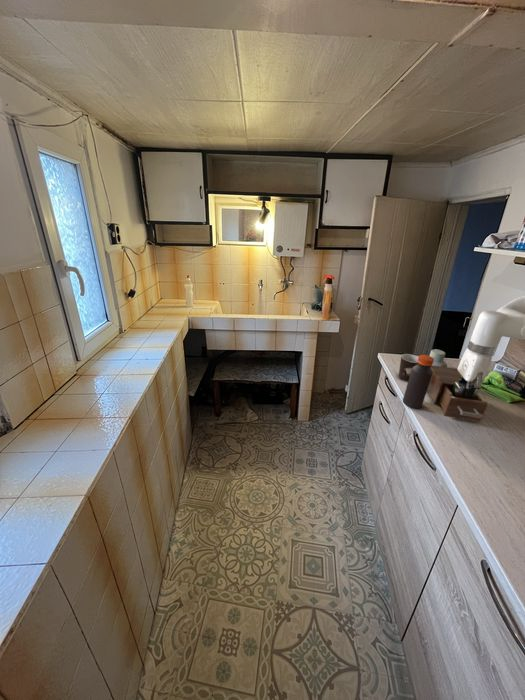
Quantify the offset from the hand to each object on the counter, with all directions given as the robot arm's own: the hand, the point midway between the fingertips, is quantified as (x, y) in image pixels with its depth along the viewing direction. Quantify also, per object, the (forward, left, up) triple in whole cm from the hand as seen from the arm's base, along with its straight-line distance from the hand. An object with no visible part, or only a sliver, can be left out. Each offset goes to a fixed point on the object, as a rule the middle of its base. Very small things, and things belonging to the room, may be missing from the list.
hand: (463, 393), depth 101 cm
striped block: (0, 0, 0) cm, 0 cm away
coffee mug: (+12, -21, -8) cm, 26 cm away
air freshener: (-1, -34, -8) cm, 35 cm away
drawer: (0, +1, -7) cm, 7 cm away
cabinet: (0, -11, -8) cm, 14 cm away
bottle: (+15, -1, -8) cm, 17 cm away
